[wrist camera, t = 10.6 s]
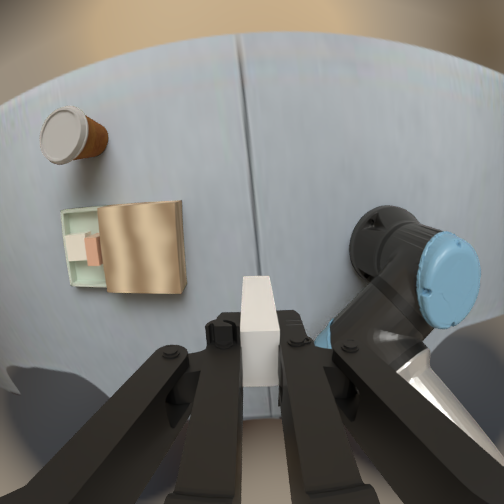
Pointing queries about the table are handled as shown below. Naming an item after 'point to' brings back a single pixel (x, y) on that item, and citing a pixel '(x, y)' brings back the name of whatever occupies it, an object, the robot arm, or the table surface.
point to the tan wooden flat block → (143, 247)
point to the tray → (80, 270)
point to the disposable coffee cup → (71, 136)
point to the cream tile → (76, 245)
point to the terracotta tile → (93, 250)
